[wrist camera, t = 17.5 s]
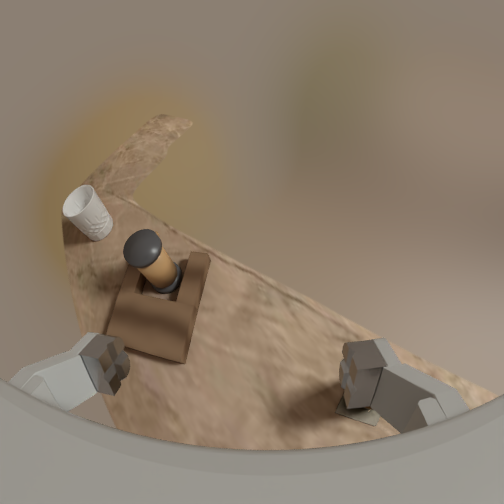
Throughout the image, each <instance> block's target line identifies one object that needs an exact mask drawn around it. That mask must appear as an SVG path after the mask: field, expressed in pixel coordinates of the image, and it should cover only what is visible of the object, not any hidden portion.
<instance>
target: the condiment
mask: <svg viewBox="0 0 504 504" xmlns="http://www.w3.org/2000/svg"><path fill="white" fill-rule="evenodd" d="M370 409H372V408H371V406H367V407H360V408H351V409H347V406H346V402H345V399H344V395H343V397H342V399H341V401H340V403H339V406H338V408H337V410H336V412H335V413H337V414H340V415H343V416H346V417H349V418H352V419H354V420H357V421H361V422H364V423H367V424H370V425H373V426H376V425H377V423H378V420H379V418H380V415H379V414H378V413H377V412H375V411H374V410H373V409H372V410H370ZM369 410H370V411H369ZM368 411H369V412H368Z"/></svg>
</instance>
